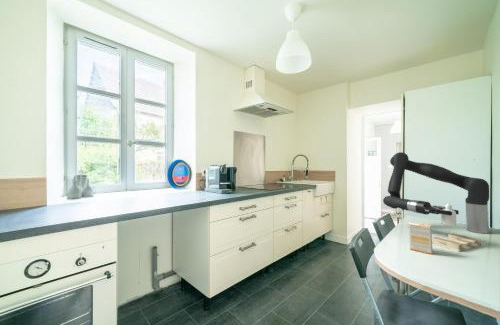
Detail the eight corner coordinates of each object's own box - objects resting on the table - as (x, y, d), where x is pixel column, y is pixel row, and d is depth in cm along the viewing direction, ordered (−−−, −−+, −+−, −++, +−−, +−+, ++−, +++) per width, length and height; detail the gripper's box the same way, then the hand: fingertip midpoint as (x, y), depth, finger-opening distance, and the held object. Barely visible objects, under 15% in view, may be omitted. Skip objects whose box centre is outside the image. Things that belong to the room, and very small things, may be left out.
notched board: (453, 238, 114) (453, 233, 114) (481, 245, 104) (481, 239, 104) (431, 243, 108) (431, 237, 108) (458, 251, 97) (458, 245, 97)
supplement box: (432, 251, 98) (431, 224, 98) (431, 254, 95) (430, 226, 95) (411, 246, 104) (410, 221, 104) (409, 249, 101) (408, 223, 101)
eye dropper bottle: (442, 223, 112) (441, 201, 112) (456, 225, 108) (456, 202, 108) (441, 224, 109) (440, 202, 109) (455, 226, 105) (455, 204, 105)
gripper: (410, 201, 120) (446, 207, 104) (426, 199, 125) (462, 204, 109) (411, 214, 120) (446, 221, 104) (426, 211, 124) (463, 218, 108)
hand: (454, 213), depth 106 cm, fingers closed on eye dropper bottle, 5 cm apart
